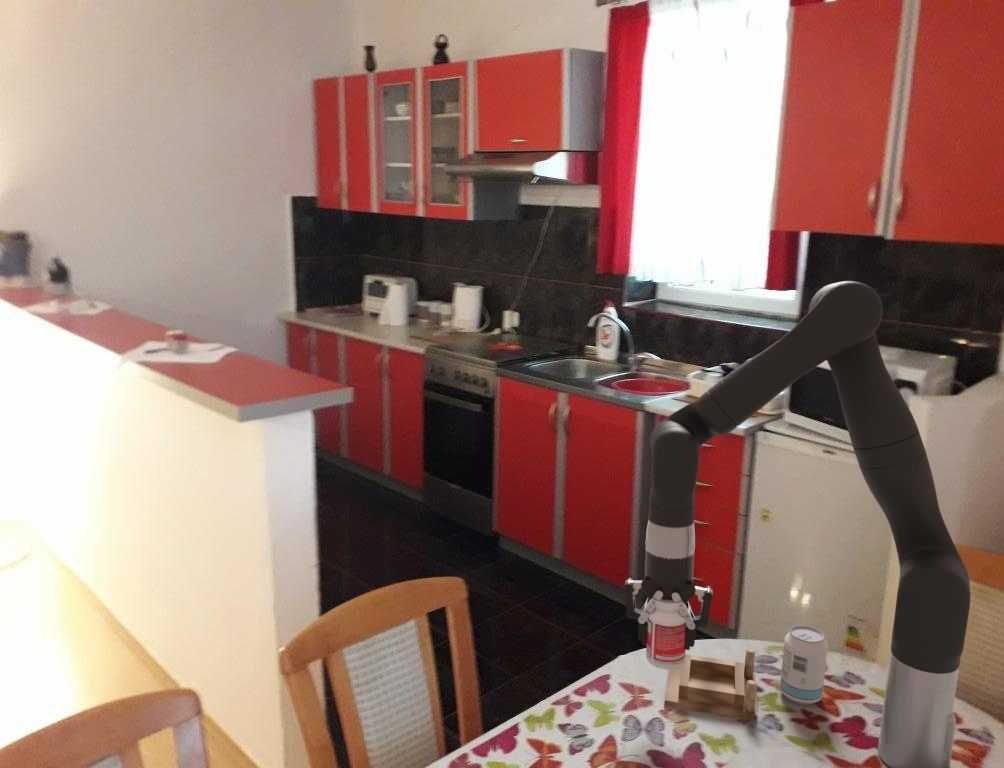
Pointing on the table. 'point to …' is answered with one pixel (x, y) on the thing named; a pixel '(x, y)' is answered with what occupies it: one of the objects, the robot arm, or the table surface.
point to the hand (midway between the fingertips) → (665, 644)
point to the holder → (714, 686)
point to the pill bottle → (666, 636)
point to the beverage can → (803, 665)
